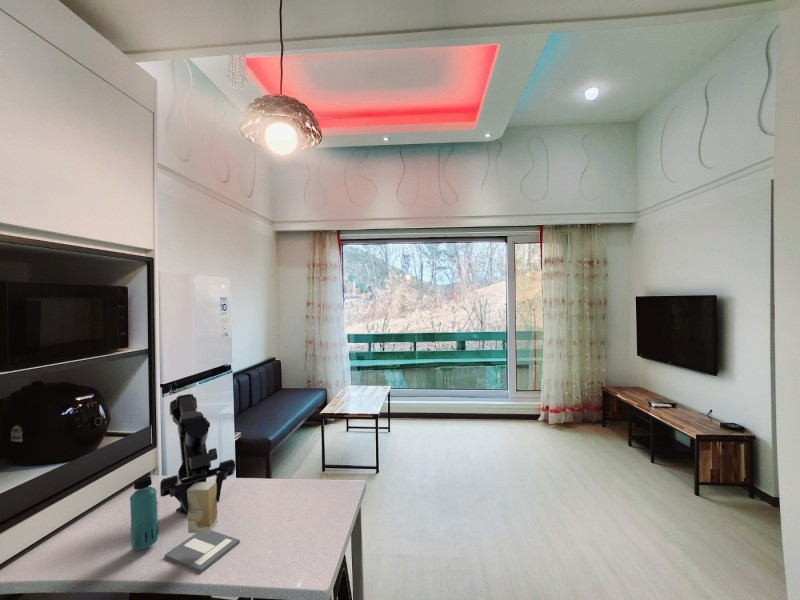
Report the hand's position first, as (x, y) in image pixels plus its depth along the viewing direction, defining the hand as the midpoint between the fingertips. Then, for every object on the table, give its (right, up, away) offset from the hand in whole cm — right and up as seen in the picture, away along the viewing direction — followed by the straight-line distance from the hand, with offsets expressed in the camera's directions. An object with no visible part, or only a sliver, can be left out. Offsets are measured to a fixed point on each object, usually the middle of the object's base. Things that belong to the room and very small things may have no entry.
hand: (203, 507), depth 96 cm
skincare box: (-1, -7, +1) cm, 7 cm away
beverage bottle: (-19, -14, +4) cm, 24 cm away
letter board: (-1, -13, +2) cm, 13 cm away
